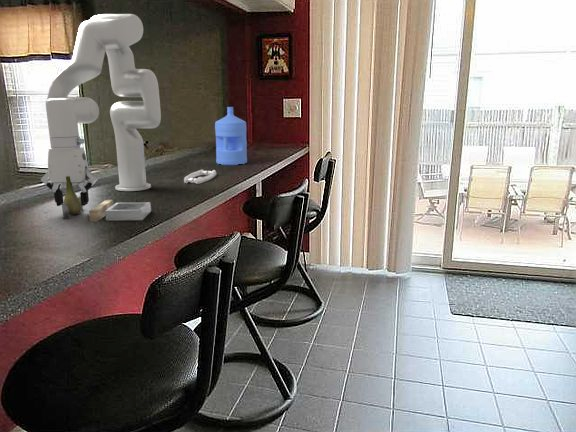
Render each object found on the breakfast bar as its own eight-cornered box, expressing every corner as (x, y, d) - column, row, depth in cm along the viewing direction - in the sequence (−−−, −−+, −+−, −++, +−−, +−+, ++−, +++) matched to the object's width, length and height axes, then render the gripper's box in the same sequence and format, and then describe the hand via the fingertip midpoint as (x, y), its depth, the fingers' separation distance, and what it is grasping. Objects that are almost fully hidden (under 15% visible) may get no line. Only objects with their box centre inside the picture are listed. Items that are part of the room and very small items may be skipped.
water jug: (224, 160, 246) (222, 106, 239) (251, 162, 242) (250, 106, 235) (210, 164, 232) (208, 107, 225) (239, 166, 227) (238, 107, 220)
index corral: (117, 211, 139) (116, 202, 138) (151, 211, 140) (150, 202, 139) (106, 220, 129) (105, 210, 129) (142, 220, 130) (141, 210, 129)
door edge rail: (106, 209, 142) (105, 199, 141) (113, 209, 142) (112, 199, 141) (90, 221, 128) (88, 211, 128) (97, 221, 128) (96, 211, 128)
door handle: (178, 185, 183) (199, 174, 207) (202, 185, 181) (220, 175, 205) (177, 178, 182) (198, 168, 206) (202, 179, 181) (220, 168, 205)
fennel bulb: (70, 211, 140) (65, 171, 137) (86, 211, 139) (82, 172, 136) (60, 216, 134) (55, 175, 131) (76, 216, 134) (72, 175, 131)
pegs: (78, 209, 142) (77, 196, 141) (83, 209, 142) (82, 196, 141) (62, 218, 131) (60, 205, 130) (68, 218, 131) (66, 205, 130)
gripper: (100, 141, 135) (106, 201, 140) (40, 141, 135) (48, 202, 139) (91, 144, 128) (98, 207, 133) (27, 144, 127) (36, 208, 132)
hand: (72, 204), depth 136 cm, fingers open, 6 cm apart
